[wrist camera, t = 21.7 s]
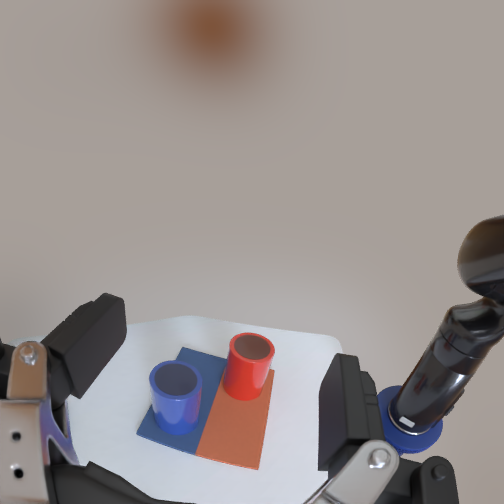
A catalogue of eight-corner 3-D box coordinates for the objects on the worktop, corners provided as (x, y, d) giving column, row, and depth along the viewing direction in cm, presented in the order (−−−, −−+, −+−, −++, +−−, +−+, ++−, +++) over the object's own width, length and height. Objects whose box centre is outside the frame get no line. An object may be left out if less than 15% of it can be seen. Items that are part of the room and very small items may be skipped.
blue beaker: (204, 407, 36) (208, 368, 32) (191, 441, 30) (193, 406, 27) (163, 394, 36) (161, 354, 33) (147, 425, 30) (140, 388, 27)
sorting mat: (274, 371, 45) (274, 370, 45) (257, 469, 28) (258, 468, 28) (182, 348, 46) (182, 346, 46) (136, 434, 29) (136, 433, 29)
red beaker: (264, 376, 43) (276, 337, 40) (259, 404, 38) (272, 367, 34) (227, 367, 44) (234, 328, 41) (218, 395, 38) (224, 356, 35)
